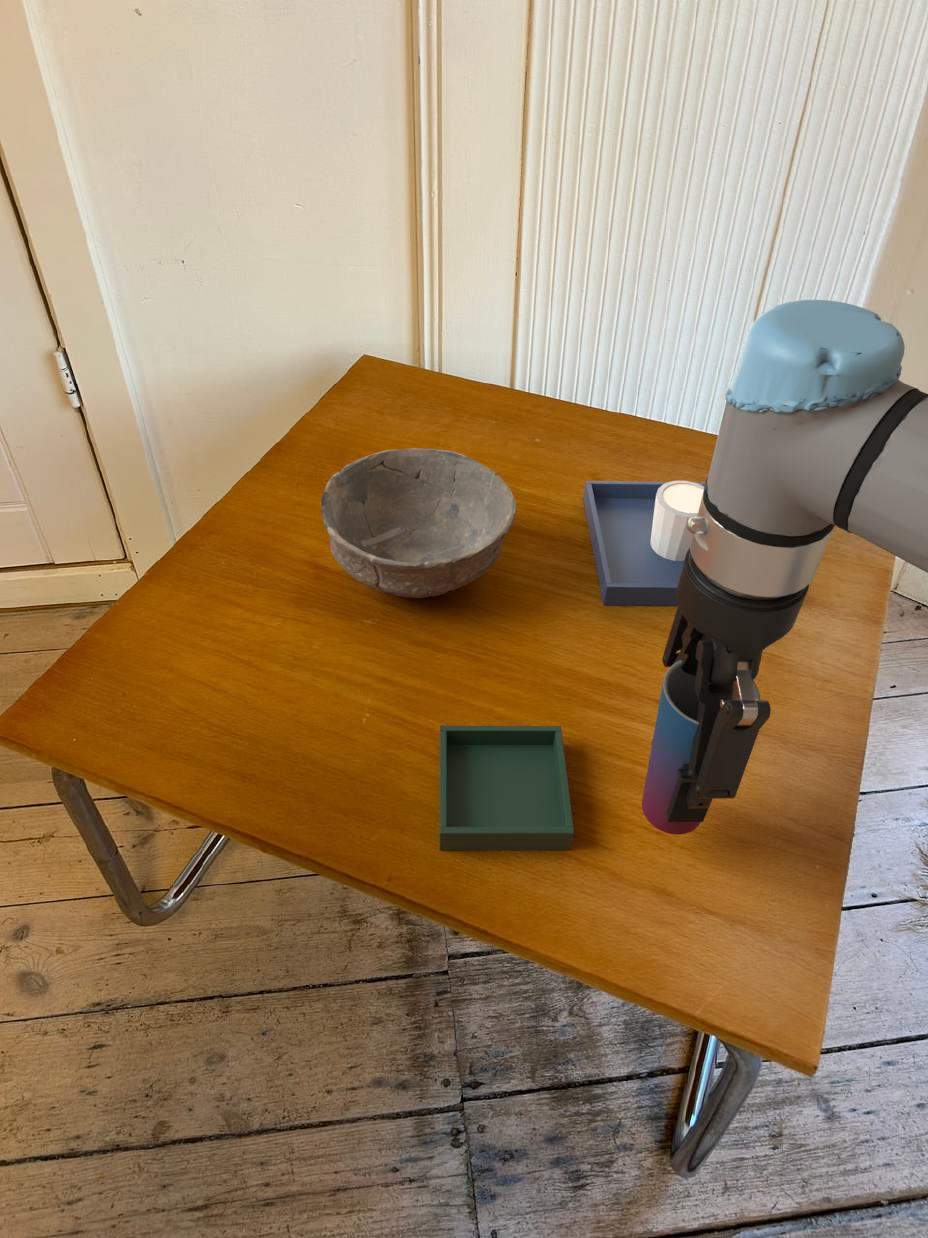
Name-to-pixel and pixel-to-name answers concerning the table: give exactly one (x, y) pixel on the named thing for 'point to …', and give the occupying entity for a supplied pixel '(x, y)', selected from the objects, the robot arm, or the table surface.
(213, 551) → the table surface
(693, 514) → the white faceted candle
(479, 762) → the near tray
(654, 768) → the cup
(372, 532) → the bowl
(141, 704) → the table surface
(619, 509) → the far tray
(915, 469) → the robot arm
